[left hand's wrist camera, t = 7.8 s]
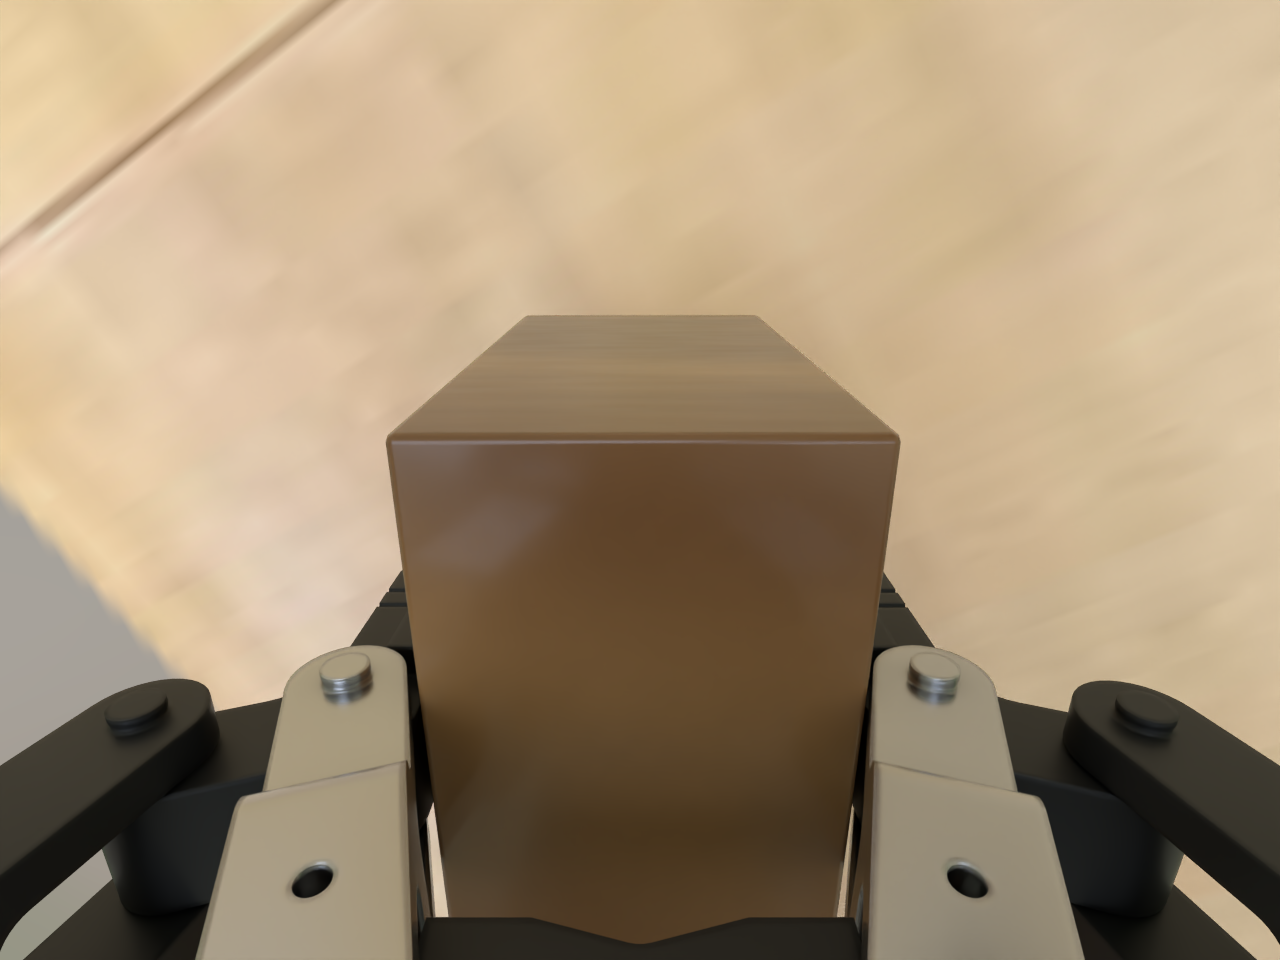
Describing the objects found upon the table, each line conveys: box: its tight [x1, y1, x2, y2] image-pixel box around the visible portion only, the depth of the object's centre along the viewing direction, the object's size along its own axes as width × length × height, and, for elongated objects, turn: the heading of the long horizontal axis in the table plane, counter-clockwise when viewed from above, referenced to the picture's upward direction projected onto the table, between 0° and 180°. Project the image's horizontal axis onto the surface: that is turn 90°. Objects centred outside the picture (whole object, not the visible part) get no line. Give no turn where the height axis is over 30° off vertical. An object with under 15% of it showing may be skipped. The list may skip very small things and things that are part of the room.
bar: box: [386, 315, 901, 944], centre depth 14 cm, size 23×5×8 cm, turn 0°
